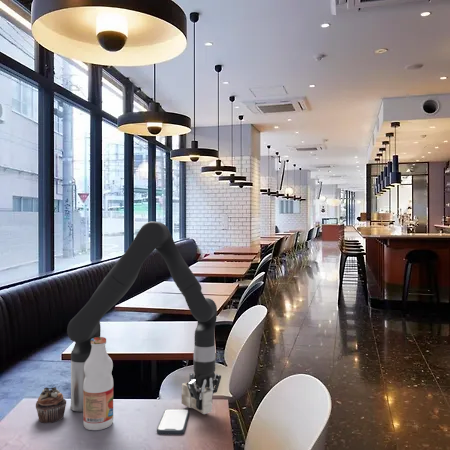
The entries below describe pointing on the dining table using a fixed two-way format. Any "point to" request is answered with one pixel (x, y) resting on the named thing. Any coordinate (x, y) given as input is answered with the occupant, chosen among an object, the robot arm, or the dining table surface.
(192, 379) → the post
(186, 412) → the smartphone
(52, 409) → the cupcake
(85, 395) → the fruit juice
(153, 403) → the dining table surface
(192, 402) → the open-ended tube with peg
